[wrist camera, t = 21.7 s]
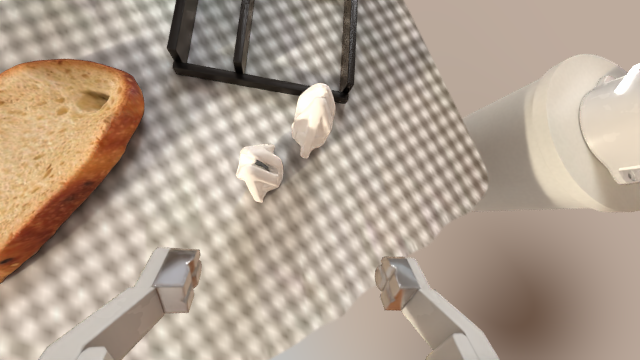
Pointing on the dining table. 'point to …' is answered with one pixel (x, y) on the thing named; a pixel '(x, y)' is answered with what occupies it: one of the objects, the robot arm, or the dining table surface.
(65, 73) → the bread slice
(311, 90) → the shaker set
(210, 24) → the dining table surface
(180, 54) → the dish rack
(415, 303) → the robot arm
